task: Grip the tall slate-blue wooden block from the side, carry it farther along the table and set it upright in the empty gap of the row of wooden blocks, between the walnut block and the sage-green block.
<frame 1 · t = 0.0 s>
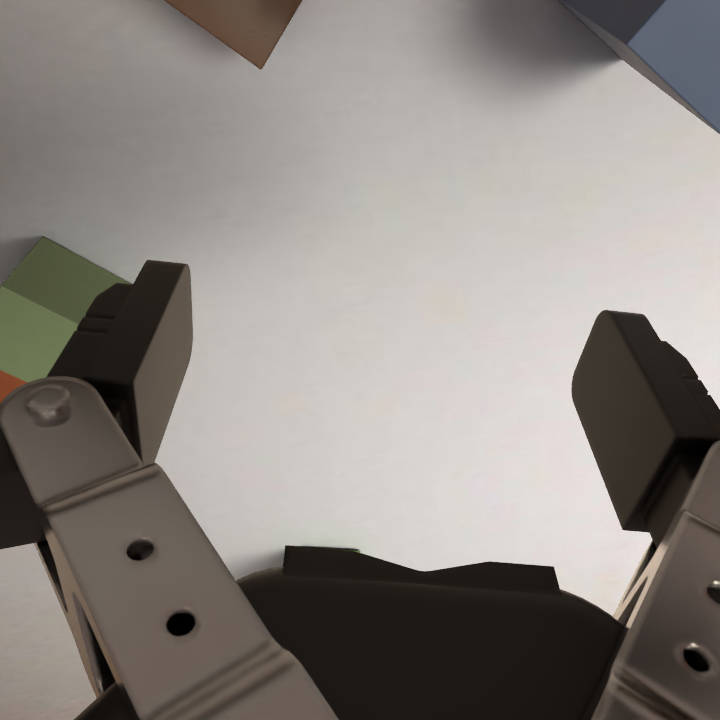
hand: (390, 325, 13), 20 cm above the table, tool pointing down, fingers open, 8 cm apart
block b: (72, 293, 36), on the table
block c: (19, 394, 40), on the table
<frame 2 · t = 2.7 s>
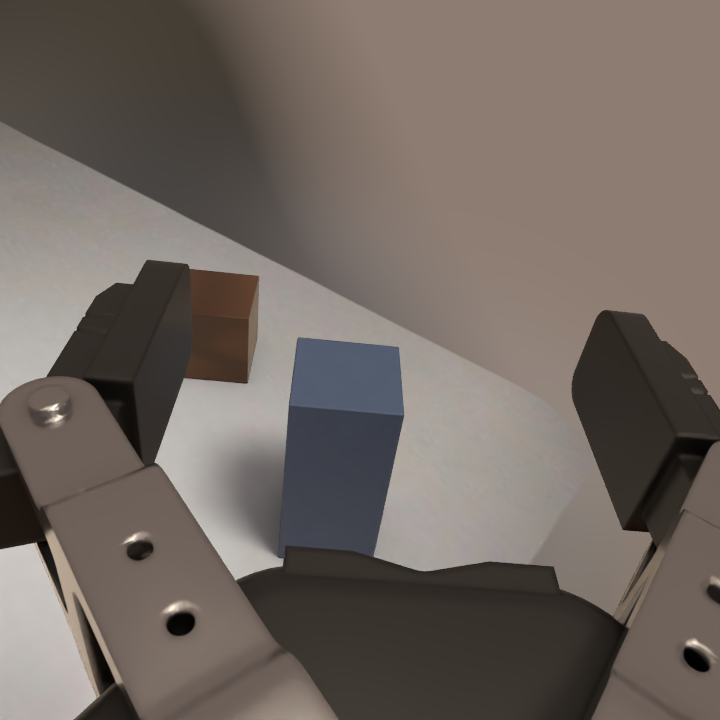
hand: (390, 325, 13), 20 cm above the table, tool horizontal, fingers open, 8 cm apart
tall block: (327, 523, 34), on the table
block a: (214, 355, 43), on the table
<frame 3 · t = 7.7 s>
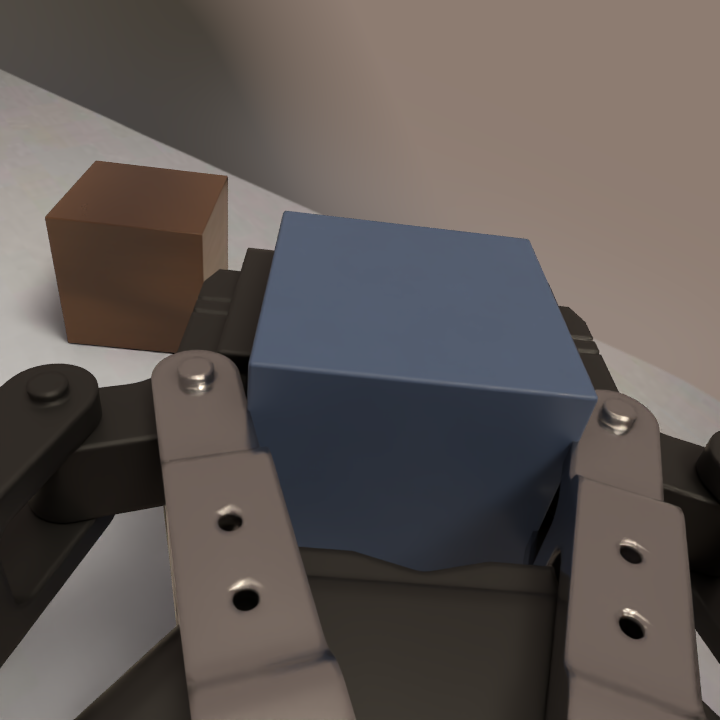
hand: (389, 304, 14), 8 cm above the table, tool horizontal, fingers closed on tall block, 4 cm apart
tall block: (345, 632, 16), on the table, touching gripper
block a: (154, 312, 26), on the table
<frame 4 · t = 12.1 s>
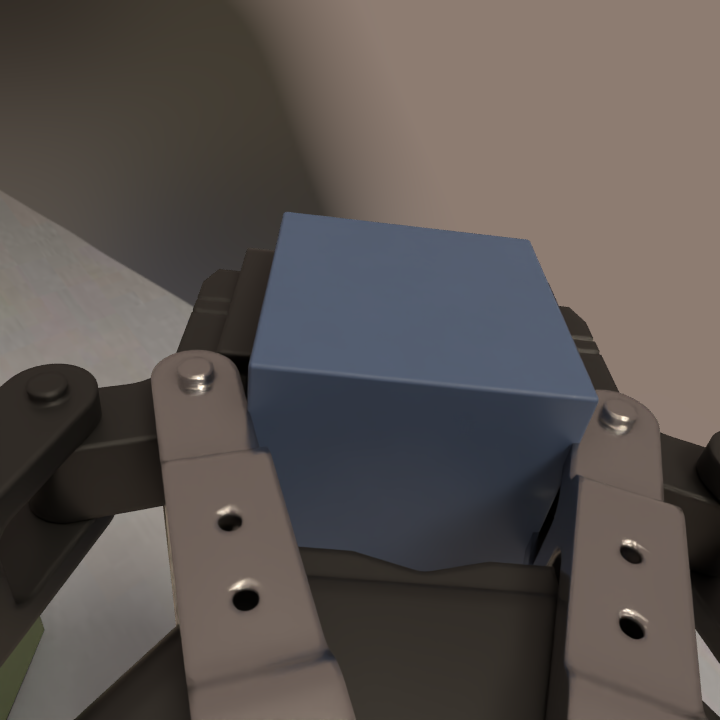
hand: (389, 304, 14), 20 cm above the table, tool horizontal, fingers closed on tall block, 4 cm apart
tall block: (346, 633, 16), point 12 cm above the table, touching gripper
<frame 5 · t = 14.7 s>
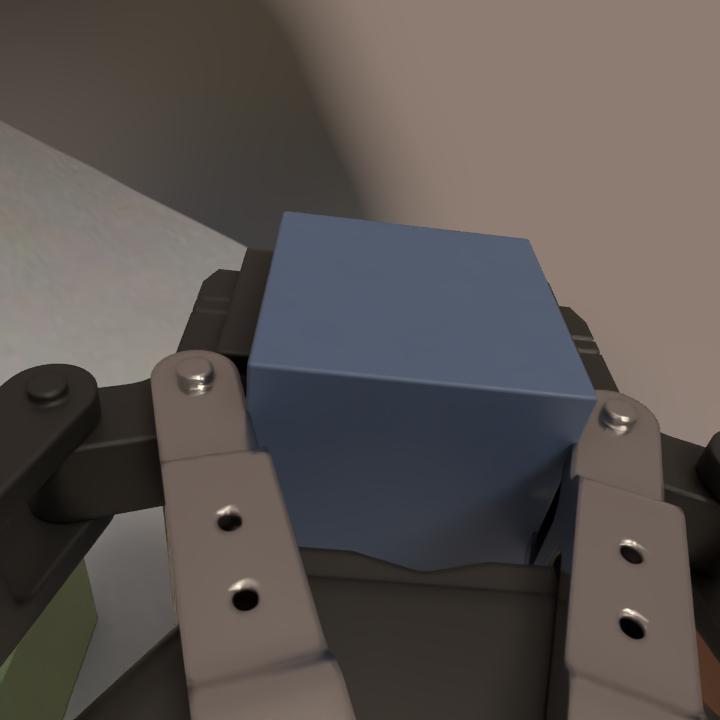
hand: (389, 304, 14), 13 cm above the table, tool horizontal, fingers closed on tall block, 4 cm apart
tall block: (345, 633, 16), point 5 cm above the table, touching gripper
when the fingers open (8 cm above the table, at t = 16.5 s): tall block stays where it is, on the table.
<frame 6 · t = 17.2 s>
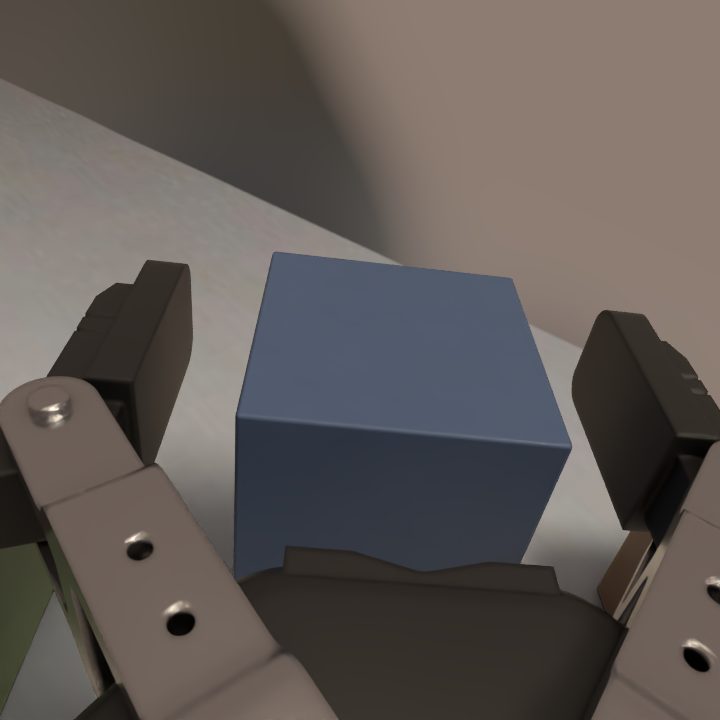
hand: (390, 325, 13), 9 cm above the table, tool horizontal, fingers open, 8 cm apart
tall block: (336, 654, 17), on the table
block a: (714, 677, 17), on the table
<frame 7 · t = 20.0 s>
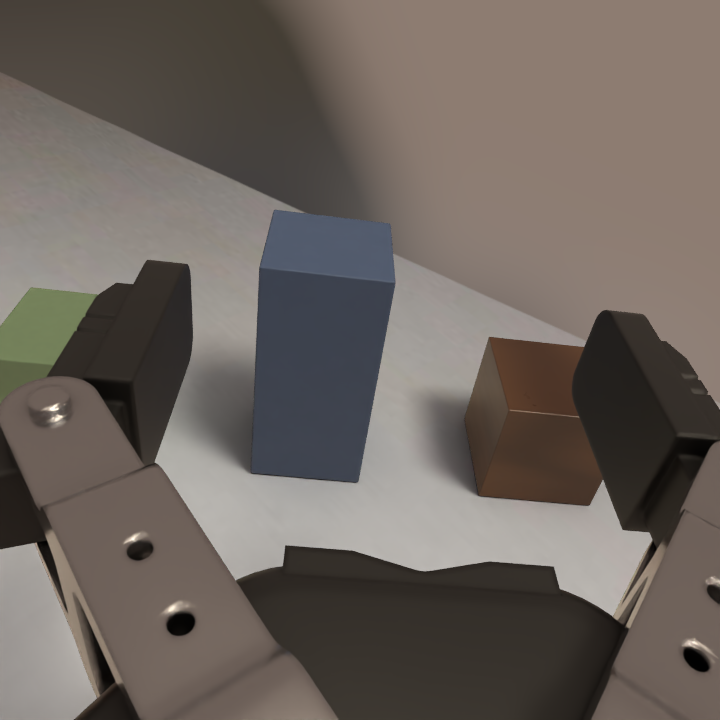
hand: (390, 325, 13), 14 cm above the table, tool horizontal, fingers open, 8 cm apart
block b: (85, 418, 29), on the table
tall block: (308, 440, 30), on the table
block a: (523, 459, 31), on the table
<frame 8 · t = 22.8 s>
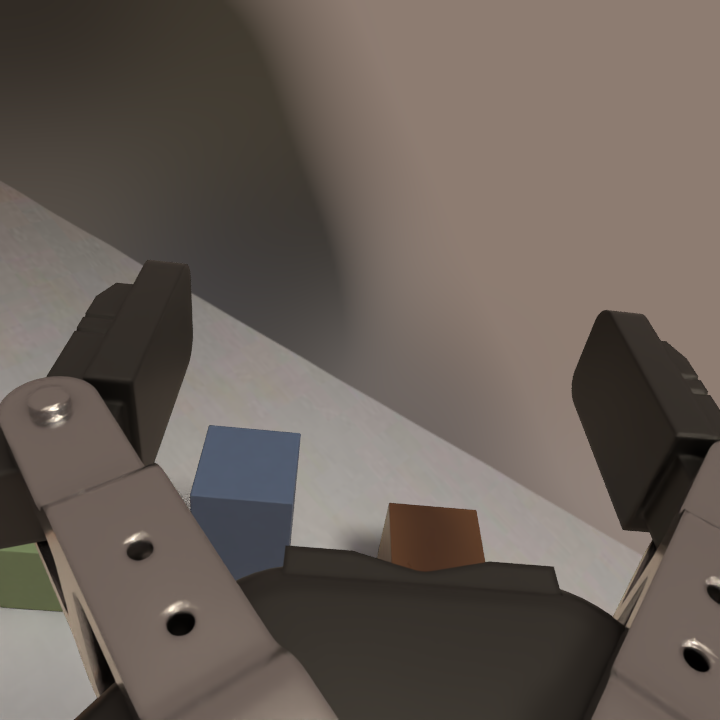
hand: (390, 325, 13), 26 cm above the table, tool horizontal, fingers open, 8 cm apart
block b: (66, 570, 36), on the table
tall block: (245, 584, 37), on the table
block a: (420, 596, 38), on the table
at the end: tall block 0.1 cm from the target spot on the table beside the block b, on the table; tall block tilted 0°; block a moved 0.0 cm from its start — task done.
